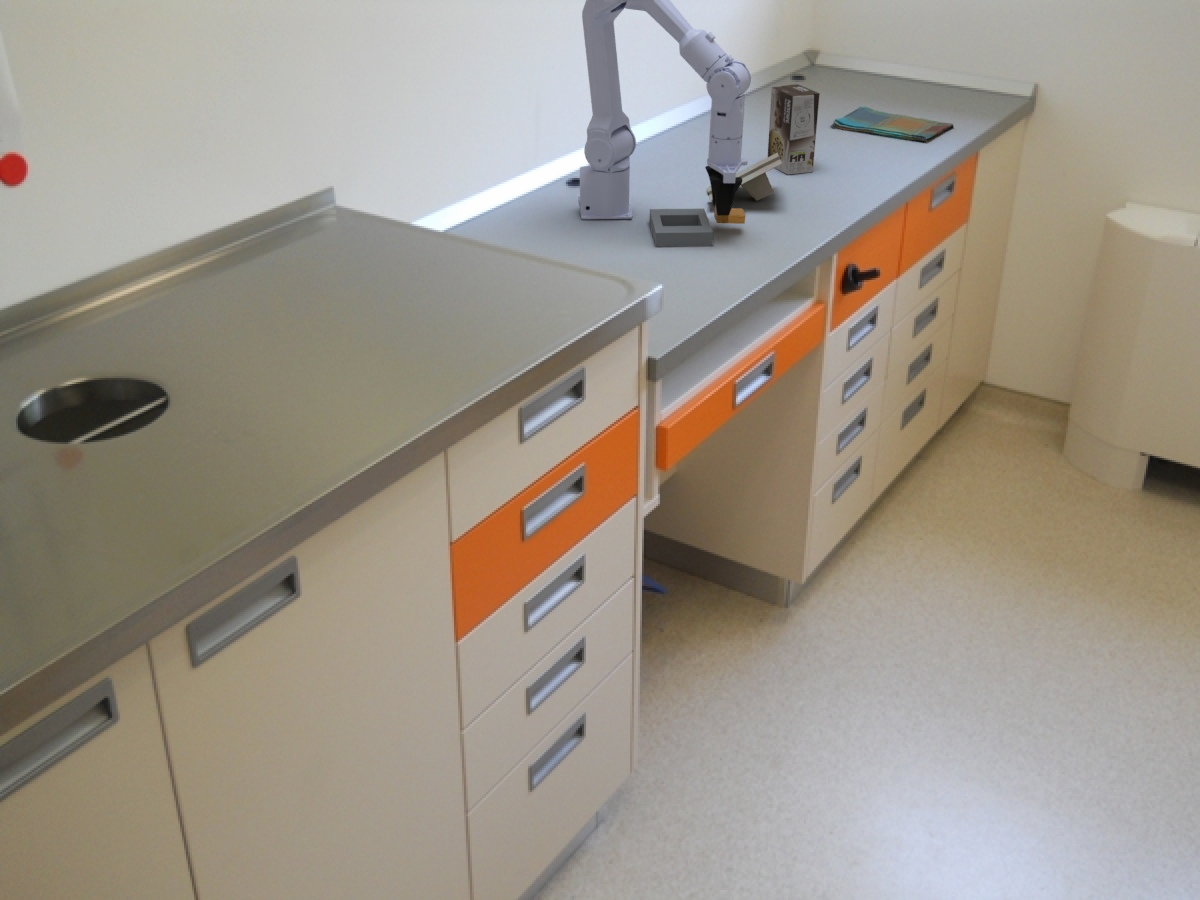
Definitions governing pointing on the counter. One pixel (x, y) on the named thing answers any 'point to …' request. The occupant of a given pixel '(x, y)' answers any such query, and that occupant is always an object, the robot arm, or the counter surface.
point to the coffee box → (793, 127)
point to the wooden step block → (731, 216)
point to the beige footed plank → (757, 178)
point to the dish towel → (891, 125)
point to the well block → (680, 227)
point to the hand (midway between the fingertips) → (721, 210)
